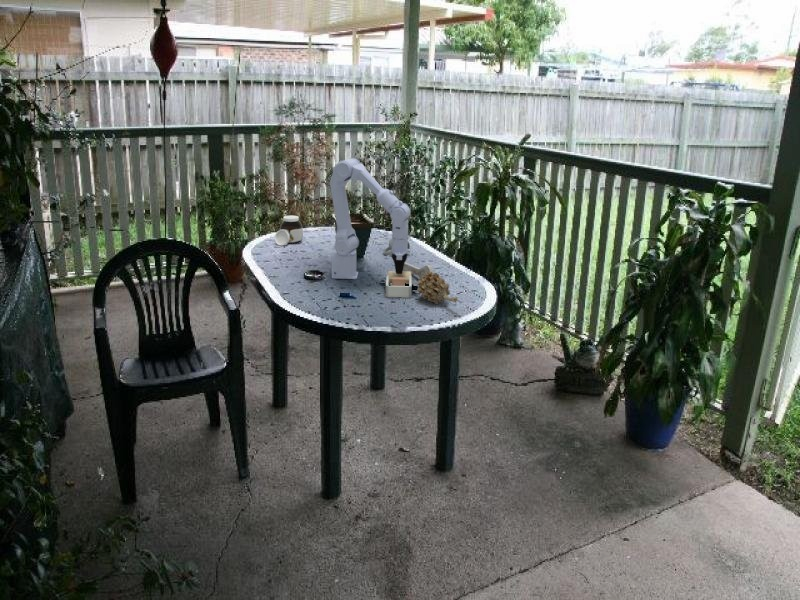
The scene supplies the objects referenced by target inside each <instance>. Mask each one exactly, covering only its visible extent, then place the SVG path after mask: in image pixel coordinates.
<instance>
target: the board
mask: <svg viewBox="0 0 800 600" xmlns="http://www.w3.org/2000/svg"><path fill="white" fill-rule="evenodd" d="M386 272H387V274H386V276H387V275H389V283H392V278H393V277H405V283H406V284H409V276H411V277H412V273H411V271H405V270H403V272H402V274H396V270H387V271H386Z"/></svg>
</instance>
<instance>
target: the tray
mask: <svg viewBox="0 0 800 600" xmlns="http://www.w3.org/2000/svg"><path fill="white" fill-rule="evenodd" d="M412 282H413V281H412V275H411V276H409V286H389V275H387V274H386V281H385V298H398V297H401V298H402V299H404V298H405V299H406V298H407V299H409V298H410V299H412Z"/></svg>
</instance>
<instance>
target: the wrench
mask: <svg viewBox="0 0 800 600" xmlns="http://www.w3.org/2000/svg"><path fill="white" fill-rule="evenodd" d="M403 271H411V275H415V276H418V278H419V279H420V278H421V276H422V275H424V273H427V272H432V273H433V274H434V273H435V270H434V267H433V266H432V265H428V264H427V265H424V266H423V267H418V266H416V265H414V264H411V263H409V262H406V261H405V263H404V267H403Z"/></svg>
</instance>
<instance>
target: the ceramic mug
mask: <svg viewBox="0 0 800 600" xmlns="http://www.w3.org/2000/svg"><path fill="white" fill-rule="evenodd" d="M410 247H411V245H410V242H409V241H408V249H411V248H410ZM391 249H392V237H391V238H390V240H389V241H388V246H387V247H386V248H384V250H382V253H383V255H384V256H390V255H392V254H394V253H392V251H391ZM408 253H409V252H407V253H406V254H407V255H408Z"/></svg>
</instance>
